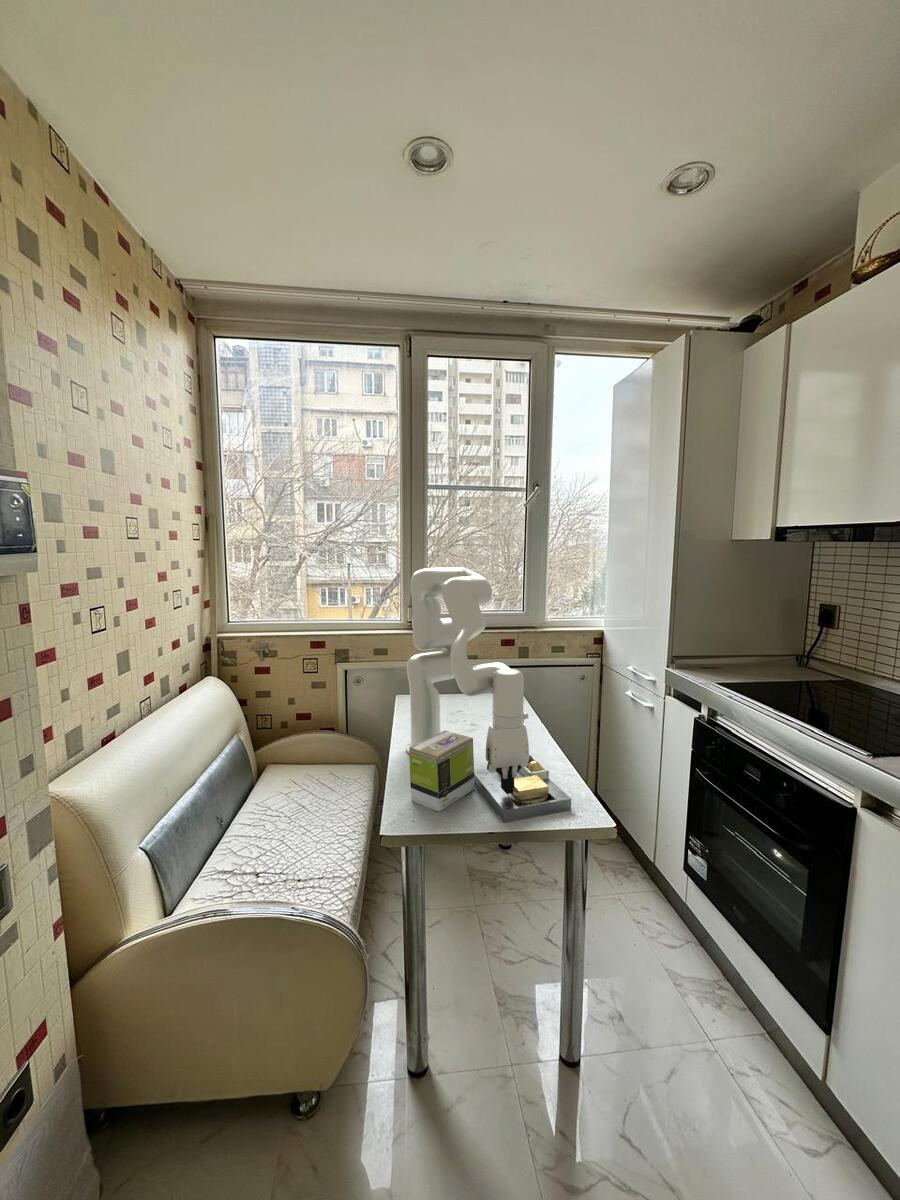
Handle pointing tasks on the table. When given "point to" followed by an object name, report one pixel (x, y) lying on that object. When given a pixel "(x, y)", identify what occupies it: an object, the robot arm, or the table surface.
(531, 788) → the brass cover
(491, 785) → the bearing plate
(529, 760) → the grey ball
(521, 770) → the parts tray
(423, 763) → the tea box
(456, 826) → the table surface
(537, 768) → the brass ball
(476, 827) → the table surface
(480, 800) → the table surface
